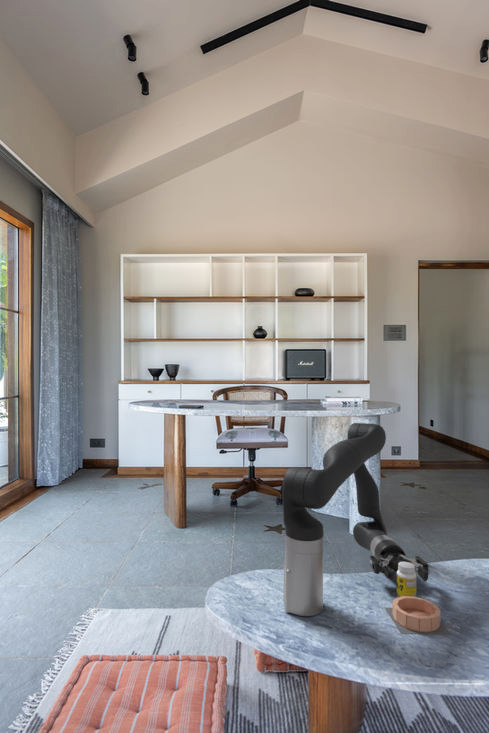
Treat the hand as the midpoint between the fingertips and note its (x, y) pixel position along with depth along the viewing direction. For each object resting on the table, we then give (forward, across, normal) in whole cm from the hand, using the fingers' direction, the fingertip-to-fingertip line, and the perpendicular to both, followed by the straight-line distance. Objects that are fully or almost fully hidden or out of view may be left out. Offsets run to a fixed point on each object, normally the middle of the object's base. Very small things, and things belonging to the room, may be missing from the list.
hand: (409, 577), depth 109 cm
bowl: (+9, -2, +6) cm, 11 cm away
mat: (+9, -2, +6) cm, 11 cm away
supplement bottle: (-2, 0, +6) cm, 6 cm away
